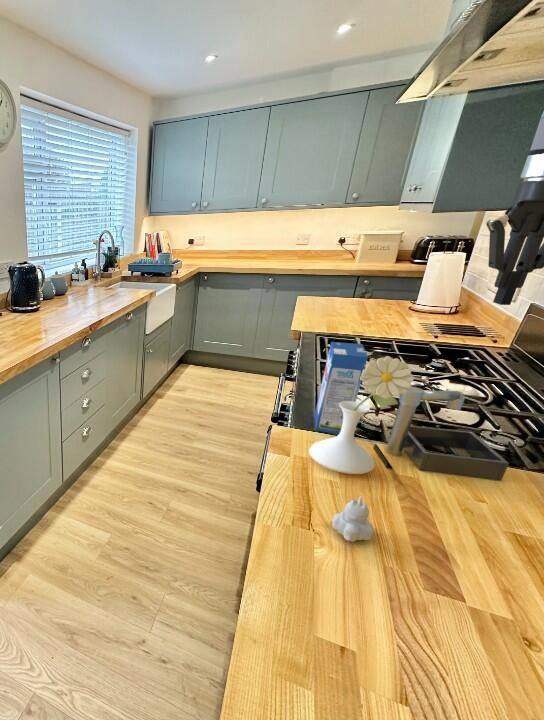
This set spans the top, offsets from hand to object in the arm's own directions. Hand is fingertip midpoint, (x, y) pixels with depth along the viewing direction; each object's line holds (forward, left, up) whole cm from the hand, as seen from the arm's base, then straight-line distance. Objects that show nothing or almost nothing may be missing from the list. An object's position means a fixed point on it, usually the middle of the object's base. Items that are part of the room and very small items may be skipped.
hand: (501, 303), depth 87 cm
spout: (+14, +17, -18) cm, 28 cm away
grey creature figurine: (+32, +47, -31) cm, 65 cm away
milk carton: (+26, +4, -31) cm, 40 cm away
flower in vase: (+27, +23, -31) cm, 47 cm away
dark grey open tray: (+9, +18, -30) cm, 36 cm away
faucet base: (+18, +18, -30) cm, 39 cm away
